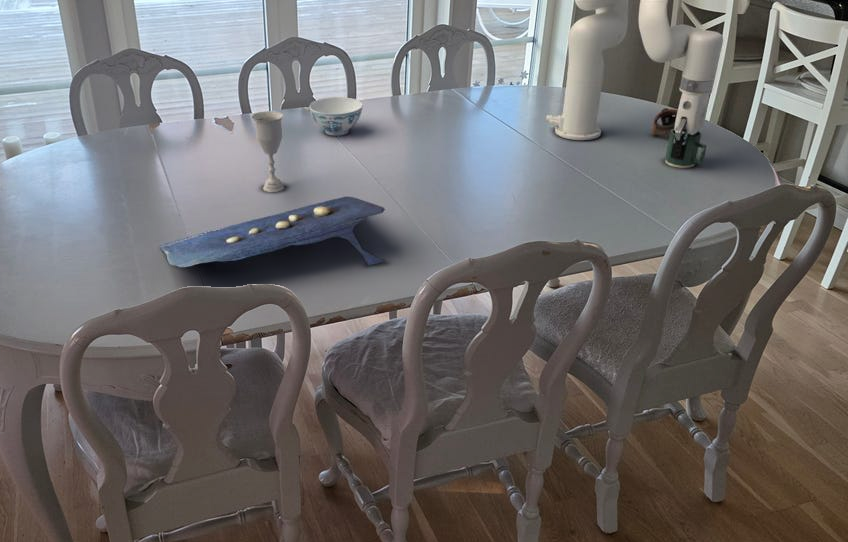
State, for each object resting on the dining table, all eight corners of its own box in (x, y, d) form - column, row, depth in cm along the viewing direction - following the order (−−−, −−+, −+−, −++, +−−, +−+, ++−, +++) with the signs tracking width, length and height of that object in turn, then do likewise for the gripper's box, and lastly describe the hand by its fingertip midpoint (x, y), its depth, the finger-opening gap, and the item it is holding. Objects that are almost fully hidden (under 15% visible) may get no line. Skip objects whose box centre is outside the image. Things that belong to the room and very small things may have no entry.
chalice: (292, 184, 193) (287, 113, 184) (281, 195, 188) (275, 122, 178) (265, 180, 195) (259, 110, 186) (253, 191, 190) (246, 119, 180)
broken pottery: (695, 141, 215) (691, 119, 210) (661, 156, 218) (656, 134, 212) (679, 117, 224) (674, 95, 218) (646, 131, 226) (641, 109, 220)
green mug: (658, 161, 202) (664, 131, 198) (677, 155, 206) (684, 125, 201) (691, 173, 195) (698, 143, 191) (710, 167, 198) (717, 137, 194)
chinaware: (372, 128, 227) (372, 102, 223) (344, 144, 216) (343, 117, 212) (330, 119, 234) (329, 94, 229) (300, 134, 223) (298, 108, 219)
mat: (188, 319, 146) (171, 260, 143) (167, 288, 171) (153, 237, 167) (403, 256, 160) (393, 201, 156) (355, 235, 184) (346, 187, 181)
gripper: (701, 96, 183) (686, 167, 192) (723, 78, 194) (707, 146, 204) (669, 91, 187) (655, 161, 196) (692, 74, 198) (678, 140, 208)
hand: (682, 153), depth 200 cm, fingers closed on green mug, 7 cm apart
